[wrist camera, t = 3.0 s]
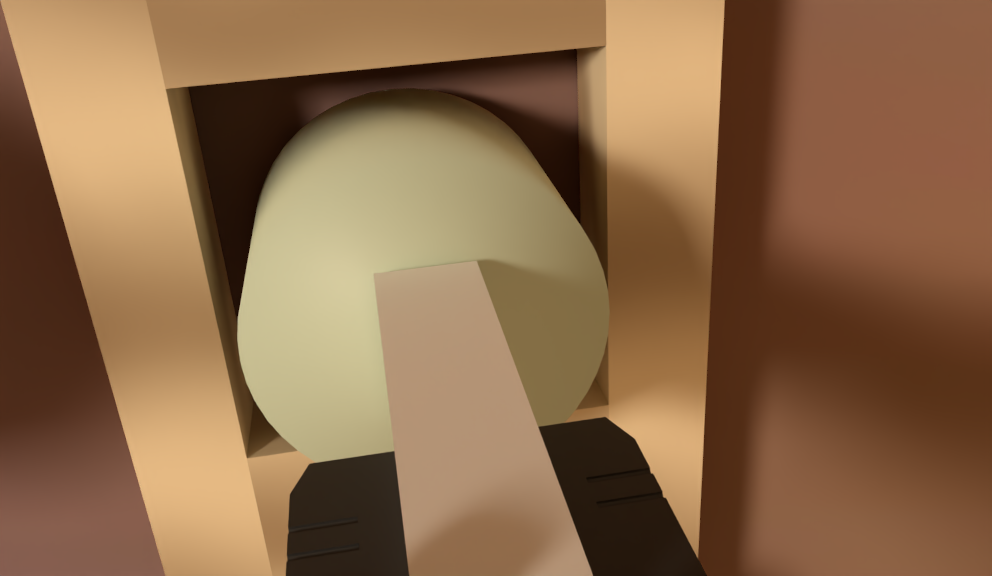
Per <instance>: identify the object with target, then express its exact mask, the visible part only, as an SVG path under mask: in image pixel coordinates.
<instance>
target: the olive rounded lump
mask: <svg viewBox="0 0 992 576" xmlns="http://www.w3.org/2000/svg"><path fill="white" fill-rule="evenodd" d="M471 261H477V263H478V266H479V268H480V271H481V274H482V277H483V279H484V282H485V285H486V287H487V290H488V293H489V295H490V298H491V301H492V304H493V306H494V309H495V312H496V314H497V317H498V320H499V322H500V325H501V328H502V331H503V333H504V336H505V339H506V341H507V344H508V347H509V350H510V352H511V355H512V358H513V360H514V363H515V366H516V368H517V371H518V374H519V377H520V379H521V382H522V385H523V387H524V390H525V393H526V395H527V398H528V401H529V404H530V406H531V409H532V412H533V414H534V417H535V420H536V423H537V425H538V427H540V426H546V425H553V424H560V423H565V421H566V420H567V419H568V418H569V417H570V416H571V415H572V413H573V412H574V411H575V410H576V408H577V407H578V405H579V404H580V403H581V401H582V400H583V398H584V397H585V395H586V394H587V392H588V390H589V388H590V386H591V384H592V382H593V380H594V378H595V376H596V374H597V372H598V369H599V366H600V364H601V361H602V358H603V355H604V351H605V347H606V342H607V337H608V330H609V315H610V310H609V297H608V289H607V284H606V280H605V276H604V271H603V268H602V266H601V263H600V261H599V258H598V256H597V253H596V251H595V249H594V247H593V245H592V244H591V242H590V240H589V238H588V237H587V235H586V233H585V231H584V230H583V228H582V227H581V225H580V224H579V222H578V221H577V220H576V218H575V217H574V215H573V214H572V212H571V211H570V209H569V208H568V206H567V205H566V203H565V202H564V200H563V199H562V197H561V196H560V194H559V193H558V191H557V190H556V188H555V187H554V185H553V184H552V182H551V181H550V179H549V178H548V176H547V175H546V174H545V172H544V171H543V169H542V168H541V166H540V165H539V163H538V162H537V160H536V159H535V157H534V156H533V154H532V153H531V151H530V150H529V149H528V147H527V146H526V145H525V144H524V142H523V141H522V140H521V138H520V137H519V136H518V135H517V134H516V133H515V132H514V131H513V130H512V129H511V128H510V127H509V126H508V125H507V124H506V123H505V122H503V121H502V120H500V119H499V118H498V117H496V116H495V115H493V114H492V113H491V112H489V111H488V110H486V109H484V108H482V107H480V106H478V105H476V104H475V103H473V102H471V101H468V100H465V99H463V98H460V97H457V96H454V95H451V94H447V93H443V92H438V91H434V90H425V89H414V88H406V89H388V90H382V91H376V92H370V93H367V94H364V95H361V96H357V97H354V98H351V99H348V100H346V101H344V102H342V103H340V104H337V105H335V106H333V107H331V108H329V109H328V110H326V111H325V112H323V113H321V114H320V115H318V116H317V117H315V118H314V119H312V120H311V121H310V122H309V123H308V124H306V125H305V126H304V127H303V128H302V129H300V130H299V131H298V132H297V133H296V134H295V135H294V136H293V137H292V139H291V140H290V141H289V142H288V143H287V144H286V145H285V146H284V148H283V149H282V151H281V152H280V153H279V155H278V156H277V158H276V159H275V161H274V162H273V164H272V166H271V168H270V170H269V172H268V174H267V176H266V178H265V180H264V183H263V186H262V189H261V192H260V195H259V198H258V204H257V210H256V215H255V221H254V227H253V233H252V239H251V244H250V250H249V256H248V262H247V267H246V273H245V279H244V285H243V291H242V296H241V302H240V308H239V314H238V333H237V341H238V349H239V356H240V363H241V366H242V370H243V373H244V376H245V380H246V383H247V385H248V387H249V390H250V392H251V394H252V396H253V398H254V400H255V402H256V404H257V405H258V407H259V409H260V410H261V412H262V413H263V415H264V416H265V418H266V419H267V421H268V422H269V423H270V424H271V425H272V426H273V427H274V429H275V430H276V431H277V432H278V433H279V434H280V435H281V437H283V438H284V439H285V440H286V441H287V442H288V443H290V444H291V445H292V446H293V447H294V448H295V449H297V450H298V451H299V452H301V453H302V454H304V455H305V456H307V457H308V458H310V459H311V460H313V461H314V462H316V463H317V462H324V461H331V460H337V459H344V458H351V457H358V456H364V455H371V454H378V453H385V452H391V451H394V443H393V434H392V426H391V417H390V409H389V401H388V392H387V384H386V375H385V367H384V358H383V350H382V342H381V333H380V325H379V316H378V308H377V299H376V291H375V283H374V274H375V273H383V272H391V271H399V270H407V269H415V268H423V267H431V266H439V265H447V264H455V263H463V262H471Z"/></svg>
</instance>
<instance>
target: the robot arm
mask: <svg viewBox="0 0 992 576" xmlns="http://www.w3.org/2000/svg"><path fill="white" fill-rule="evenodd" d="M374 283H375V291H376V299H377V308H378V316H379V325H380V333H381V342H382V350H383V358H384V367H385V375H386V384H387V392H388V401H389V409H390V417H391V426H392V434H393V443H394V451H391V452H385V453H378V454H371V455H364V456H358V457H351V458H344V459H337V460H331V461H324V462H317V463H311V464H309V465H308V467H307V468H306V470H305V471H304V473H303V474H302V476H301V478H300V479H299V481H298V482H297V484H296V485H295V487H294V489H293V490H292V492H291V493H290V499H289V519H288V530H289V534H288V539H287V562H286V576H707V575H706V573H705V571H704V569H703V567H702V566H701V564H700V562H699V560H698V558H697V556H696V554H695V552H694V550H693V548H692V546H691V545H690V543H689V541H688V539H687V537H686V535H685V533H684V531H683V529H682V527H681V526H680V524H679V522H678V520H677V518H676V516H675V514H674V512H673V510H672V508H671V506H670V505H669V503H668V501H667V499H666V498H664V497H663V491H662V489H661V487H660V486H659V484H658V482H657V480H656V478H655V476H654V474H653V473H651V471H650V466H649V465H648V463H647V461H646V459H645V457H644V455H643V453H642V451H641V449H640V447H639V446H638V444H637V442H636V440H635V439H634V438H633V437H632V436H630V435H629V434H628V433H626V432H625V431H624V430H622V429H621V428H620V427H618V426H617V425H616V424H614V423H613V422H612V421H610V420H609V419H608V418H606V417H600V418H594V419H587V420H580V421H573V422H567V423H560V424H553V425H546V426H540V427H538V425H537V423H536V420H535V417H534V414H533V412H532V409H531V406H530V404H529V401H528V398H527V395H526V393H525V390H524V387H523V385H522V382H521V379H520V377H519V374H518V371H517V368H516V366H515V363H514V360H513V358H512V355H511V352H510V350H509V347H508V344H507V341H506V339H505V336H504V333H503V331H502V328H501V325H500V322H499V320H498V317H497V314H496V312H495V309H494V306H493V304H492V301H491V298H490V295H489V293H488V290H487V287H486V285H485V282H484V279H483V277H482V274H481V271H480V268H479V266H478V263H477V261H471V262H463V263H455V264H447V265H439V266H431V267H423V268H415V269H407V270H399V271H391V272H383V273H375V274H374Z"/></svg>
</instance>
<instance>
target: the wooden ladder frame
mask: <svg viewBox="0 0 992 576" xmlns="http://www.w3.org/2000/svg"><path fill="white" fill-rule="evenodd" d="M0 1H1V5H2V8H3V12H4V15H5V19H6V22H7V26H8V29H9V33H10V36H11V40H12V43H13V46H14V50H15V53H16V57H17V60H18V64H19V67H20V71H21V74H22V78H23V81H24V85H25V88H26V92H27V95H28V99H29V102H30V106H31V109H32V113H33V116H34V120H35V123H36V127H37V130H38V134H39V137H40V140H41V144H42V147H43V151H44V154H45V158H46V161H47V165H48V168H49V172H50V175H51V179H52V182H53V186H54V189H55V193H56V196H57V200H58V203H59V207H60V210H61V214H62V217H63V221H64V224H65V228H66V231H67V234H68V238H69V241H70V245H71V248H72V252H73V255H74V259H75V262H76V266H77V269H78V273H79V276H80V280H81V283H82V287H83V290H84V294H85V297H86V301H87V304H88V308H89V311H90V315H91V318H92V322H93V325H94V328H95V332H96V335H97V339H98V342H99V346H100V349H101V353H102V356H103V360H104V363H105V367H106V370H107V374H108V377H109V381H110V384H111V388H112V391H113V395H114V398H115V402H116V405H117V409H118V412H119V416H120V419H121V422H122V426H123V429H124V433H125V436H126V440H127V443H128V447H129V450H130V454H131V457H132V461H133V464H134V468H135V471H136V475H137V478H138V482H139V485H140V489H141V492H142V496H143V499H144V503H145V506H146V510H147V513H148V516H149V520H150V523H151V527H152V530H153V534H154V537H155V541H156V544H157V548H158V551H159V555H160V558H161V562H162V565H163V569H164V572H165V576H286V562H287V539H288V534H289V530H288V519H289V499H290V493H291V492H292V490H293V489H294V487H295V485H296V484H297V482H298V481H299V479H300V478H301V476H302V474H303V473H304V471H305V470H306V468H307V467H308V465H309V464H311V463H316V462H314V461H313V460H311V459H310V458H308V457H307V456H305V455H304V454H302V453H301V452H299V451H298V450H297V449H295V448H294V447H293V446H292V445H291V444H290V443H288V442H287V441H286V440H285V439H284V438H283V437H281V435H280V434H279V433H278V432H277V431H276V430H275V429H274V427H273V426H272V425H271V424H270V423H269V422H268V421H267V419H266V418H265V416H264V415H263V413H262V412H261V410H260V409H259V407H258V405H257V404H256V402H255V401H253V396H252V394H251V392H250V390H249V387H248V385H247V383H246V380H245V376H244V373H243V370H242V366H241V363H240V356H239V349H238V341H237V333H238V324H237V319H236V315H235V310H234V305H233V300H232V295H231V291H230V286H229V281H228V276H227V272H226V267H225V262H224V257H223V252H222V248H221V243H220V238H219V233H218V228H217V224H216V219H215V214H214V209H213V204H212V200H211V195H210V190H209V185H208V181H207V176H206V171H205V166H204V161H203V157H202V152H201V147H200V142H199V137H198V133H197V128H196V123H195V118H194V113H193V109H192V104H191V99H190V94H189V90H188V87H190V86H200V85H210V84H220V83H230V82H241V81H251V80H261V79H271V78H281V77H292V76H302V75H312V74H322V73H332V72H343V71H353V70H363V69H373V68H384V67H394V66H404V65H414V64H424V63H435V62H445V61H455V60H465V59H475V58H486V57H496V56H506V55H516V54H526V53H537V52H547V51H557V50H567V49H577V79H578V127H579V175H580V222H581V227H582V228H583V230H584V231H585V233H586V235H587V237H588V238H589V240H590V242H591V244H592V245H593V247H594V249H595V251H596V253H597V256H598V258H599V261H600V263H601V266H602V268H603V271H604V276H605V280H606V284H607V289H608V297H609V310H610V315H609V330H608V337H607V342H606V347H605V351H604V355H603V358H602V361H601V364H600V366H599V369H598V372H597V374H596V376H595V378H594V380H593V382H592V384H591V386H590V388H589V390H588V392H587V394H586V395H585V397H584V398H583V400H582V401H581V403H580V404H579V405H578V407H577V408H576V410H575V411H574V412H573V413H572V415H571V416H570V417H569V418H568V419H567V420H566V421H565V423H567V422H573V421H580V420H587V419H594V418H600V417H606V418H608V419H609V420H610V421H612V422H613V423H614V424H616V425H617V426H618V427H620V428H621V429H622V430H624V431H625V432H626V433H628V434H629V435H630V436H632V437H633V438H634V439H635V440H636V442H637V444H638V446H639V447H640V449H641V451H642V453H643V455H644V457H645V459H646V461H647V463H648V465H649V466H650V471H651V473H653V474H654V476H655V478H656V480H657V482H658V484H659V486H660V487H661V489H662V491H663V497H664V498H666V499H667V501H668V503H669V505H670V506H671V508H672V510H673V512H674V514H675V516H676V518H677V520H678V522H679V524H680V526H681V527H682V529H683V531H684V533H685V535H686V537H687V539H688V541H689V543H690V545H691V546H692V548H693V550H694V552H695V554H696V556H697V558H698V548H699V527H700V506H701V485H702V465H703V444H704V423H705V402H706V381H707V360H708V339H709V318H710V297H711V276H712V256H713V235H714V214H715V193H716V172H717V151H718V130H719V109H720V88H721V67H722V46H723V26H724V5H725V0H0Z"/></svg>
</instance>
